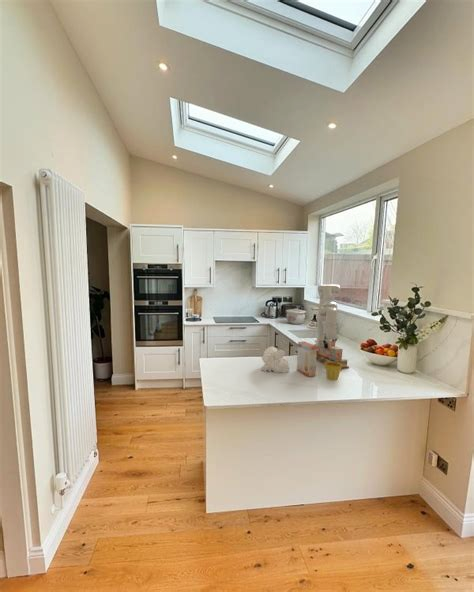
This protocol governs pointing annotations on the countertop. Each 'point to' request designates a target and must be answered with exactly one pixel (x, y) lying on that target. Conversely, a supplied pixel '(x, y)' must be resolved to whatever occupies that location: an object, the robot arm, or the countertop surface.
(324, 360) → the cradle
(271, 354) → the cauliflower
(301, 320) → the chamber pot
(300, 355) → the cracker box
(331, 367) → the plant pot
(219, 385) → the countertop surface
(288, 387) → the countertop surface
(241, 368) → the countertop surface
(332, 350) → the stack of blocks
